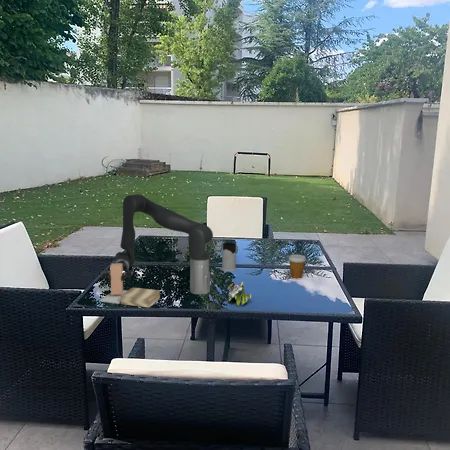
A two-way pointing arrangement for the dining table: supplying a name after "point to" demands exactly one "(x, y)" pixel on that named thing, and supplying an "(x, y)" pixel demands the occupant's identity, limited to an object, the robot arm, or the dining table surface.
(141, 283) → the dining table surface
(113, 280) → the tall tan block
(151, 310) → the dining table surface
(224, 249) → the glass holder
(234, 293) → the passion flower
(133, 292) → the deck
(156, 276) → the dining table surface
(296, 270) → the disposable coffee cup
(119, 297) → the mat
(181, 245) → the dining table surface
